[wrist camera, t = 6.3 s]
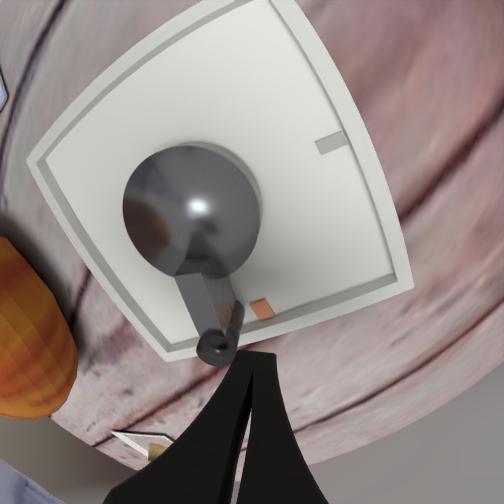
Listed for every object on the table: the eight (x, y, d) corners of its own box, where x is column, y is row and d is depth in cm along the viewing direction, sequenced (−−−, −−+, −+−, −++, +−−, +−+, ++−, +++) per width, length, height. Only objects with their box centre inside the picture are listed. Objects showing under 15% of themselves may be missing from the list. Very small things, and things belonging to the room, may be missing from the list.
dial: (121, 162, 12) (79, 181, 9) (245, 127, 11) (228, 133, 8) (184, 325, 16) (166, 365, 13) (286, 318, 15) (284, 364, 12)
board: (174, 344, 19) (166, 362, 18) (44, 153, 14) (25, 160, 12) (404, 268, 14) (414, 287, 13) (273, -15, 8) (270, -31, 7)
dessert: (112, 425, 33) (101, 449, 29) (166, 429, 29) (155, 460, 25) (161, 459, 38) (154, 481, 33) (218, 463, 34) (212, 489, 29)
